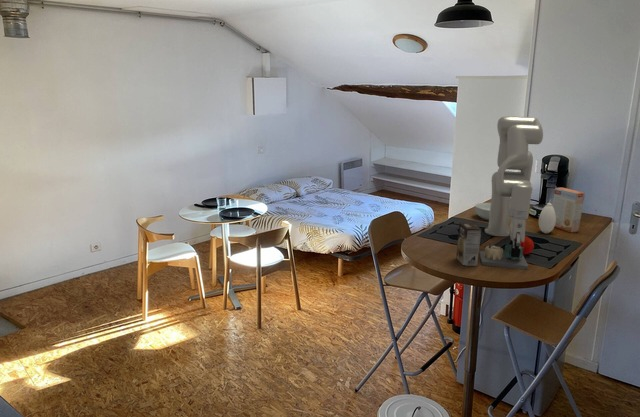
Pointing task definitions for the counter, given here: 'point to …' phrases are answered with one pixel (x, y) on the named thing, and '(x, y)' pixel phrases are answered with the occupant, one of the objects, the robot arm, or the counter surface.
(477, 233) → the brown printed box
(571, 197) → the cracker box
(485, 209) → the cereal bowl
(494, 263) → the gear board
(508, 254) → the teal gear
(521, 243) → the tomato
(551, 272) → the counter surface
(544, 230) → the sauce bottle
